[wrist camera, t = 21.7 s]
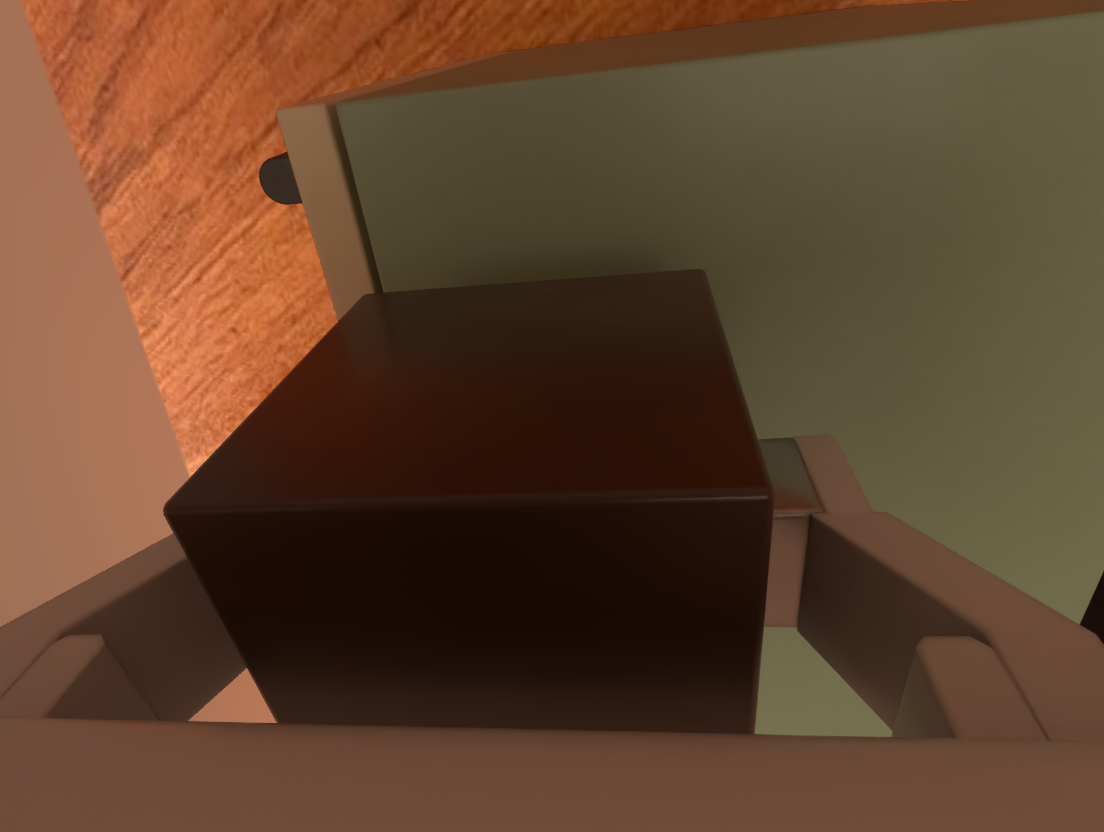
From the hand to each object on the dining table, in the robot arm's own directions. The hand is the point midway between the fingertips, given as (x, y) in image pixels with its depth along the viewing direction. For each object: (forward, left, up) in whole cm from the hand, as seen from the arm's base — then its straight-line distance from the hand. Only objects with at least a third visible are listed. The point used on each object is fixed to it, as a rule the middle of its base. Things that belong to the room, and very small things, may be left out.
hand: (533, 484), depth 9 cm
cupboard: (+4, -7, -24) cm, 25 cm away
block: (0, 0, -2) cm, 2 cm away
